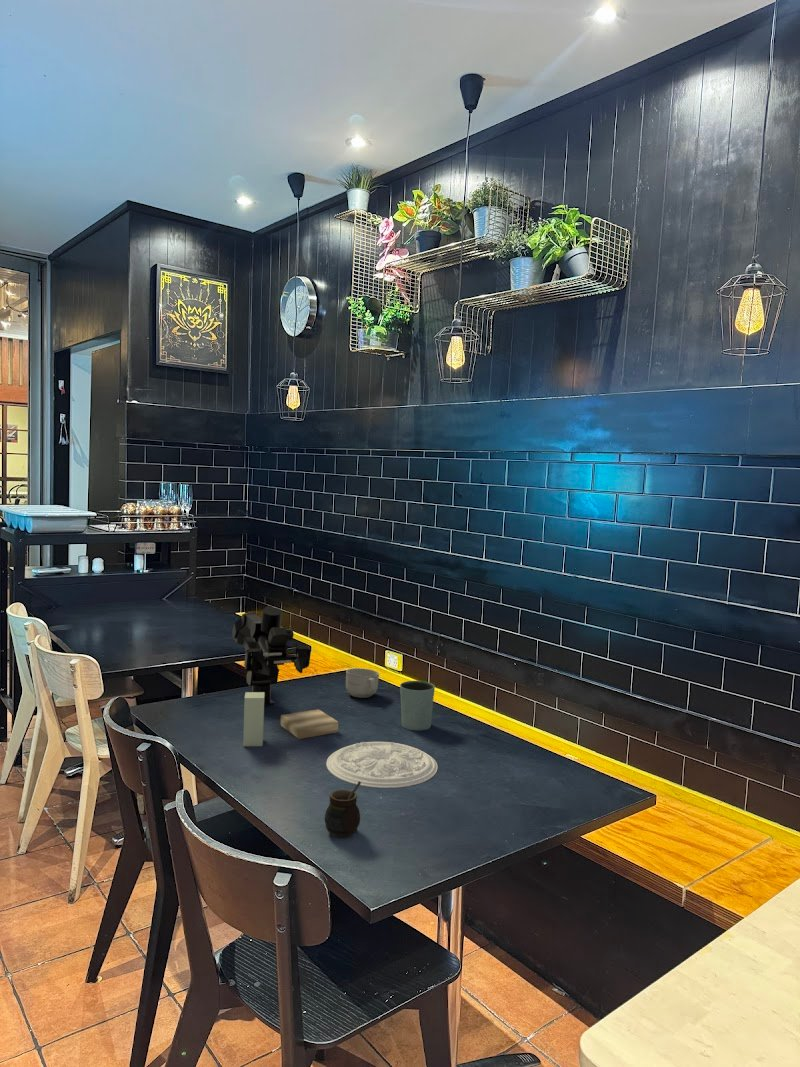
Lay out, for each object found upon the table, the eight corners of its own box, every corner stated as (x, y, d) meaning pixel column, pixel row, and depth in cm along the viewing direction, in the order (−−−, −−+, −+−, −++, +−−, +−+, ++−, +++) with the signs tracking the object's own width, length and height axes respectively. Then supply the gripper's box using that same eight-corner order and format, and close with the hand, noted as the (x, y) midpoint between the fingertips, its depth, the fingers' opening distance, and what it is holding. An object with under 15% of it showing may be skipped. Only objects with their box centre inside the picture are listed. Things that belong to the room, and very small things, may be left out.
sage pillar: (244, 739, 204) (245, 692, 203) (263, 739, 205) (264, 692, 203) (243, 746, 199) (244, 698, 198) (262, 746, 200) (263, 698, 199)
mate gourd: (316, 831, 155) (318, 784, 154) (344, 820, 161) (346, 774, 160) (339, 844, 150) (341, 796, 149) (367, 832, 155) (369, 785, 155)
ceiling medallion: (427, 796, 175) (428, 783, 175) (311, 781, 180) (312, 768, 180) (444, 753, 202) (445, 741, 202) (343, 740, 208) (344, 729, 207)
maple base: (280, 725, 216) (280, 715, 216) (318, 719, 222) (318, 709, 222) (299, 739, 206) (299, 728, 206) (337, 732, 213) (338, 721, 212)
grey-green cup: (433, 732, 216) (435, 691, 215) (397, 730, 216) (399, 689, 215) (432, 720, 226) (434, 681, 225) (398, 718, 226) (400, 679, 225)
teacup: (341, 691, 251) (342, 667, 250) (373, 689, 254) (374, 666, 254) (351, 704, 238) (352, 679, 237) (385, 702, 241) (386, 678, 240)
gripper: (242, 622, 217) (255, 648, 204) (305, 620, 225) (321, 645, 212) (239, 657, 221) (251, 684, 207) (300, 654, 229) (316, 680, 215)
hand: (285, 672), depth 211 cm, fingers open, 9 cm apart
